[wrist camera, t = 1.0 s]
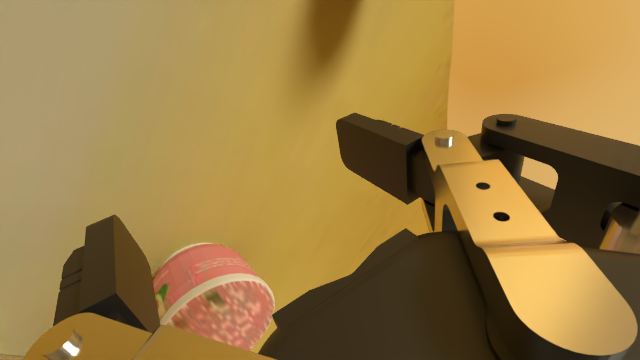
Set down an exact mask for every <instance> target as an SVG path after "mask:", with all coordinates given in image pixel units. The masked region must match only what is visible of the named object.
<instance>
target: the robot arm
mask: <svg viewBox="0 0 640 360" xmlns="http://www.w3.org/2000/svg"><path fill="white" fill-rule="evenodd" d="M336 129H337V135H338V141H339V148H340V154H341V158H342V161H343V163H344V164H345V166H346V167H347V168H348V169H349V170H351V171H352V172H354V173H356V174H357V175H359V176H361V177H362V178H364V179H366V180H367V181H369V182H371V183H372V184H374V185H376V186H377V187H379V188H381V189H382V190H384V191H386V192H387V193H389V194H391V195H392V196H394V197H396V198H397V199H399V200H401V201H402V202H404V203H406V204H407V205H408V204H409V203H411V202H413V201H414V200H416V199H418V198H419V197H420V198H422V209H423V212H424V216H425V219H426V222H427V226H428V229H429V233H426V234H422V235H419V236H416V235H415V234H413V233H412V232H410V231H409V230H407V229H406V228H405V229H404V230H402V231H401V232H399V233H398V234H396V235H395V236H393V237H391V238H390V239H388V240H387V241H385V242H384V243H382V244H381V245H379V246H378V247H377V248H376V249H375V250H374V251H373V252H372V253H371V254H370V255H369V256H368V257H367V258H366V260H365V261H364V262H363V263H362V264H361V265H360V266H359V267H358V268H357V269H356V270H355V272H353V273H352V274H351V275H349V276H346V277H344V278H341V279H338V280H336V281H333V282H331V283H328V284H325V285H323V286H320V287H317V288H315V289H312V290H309V291H308V292H306V293H305V294H303V295H302V296H300V297H299V298H297V299H296V300H294V301H292V302H291V303H289V304H288V305H286V306H285V307H283V308H282V309H280V310H279V311H277V312H275V313H274V314H272V317H273V319H274V322H275V324H276V326H277V329H276V330H275V331H274V332H273V333H272V334H271V335H270V337H269V338H268V339H267V341H266V342H265V343H264V345H263V346H262V348H261V349H260V351H259V353H258V354H257V353H254V352H251V351H248V350H244V349H241V348H238V347H235V346H232V345H229V344H226V343H222V342H219V341H216V340H213V339H210V338H207V337H203V336H200V335H197V334H194V333H191V332H188V331H185V330H181V329H178V328H175V327H172V326H168V325H160V319H159V314H158V308H157V303H156V297H155V292H154V286H153V281H152V275H151V270H150V266H149V263H148V261H147V259H146V257H145V255H144V253H143V252H142V250H141V249H140V247H139V246H138V244H137V243H136V241H135V240H134V239H133V237H132V236H131V234H130V233H129V231H128V230H127V228H126V227H125V226H124V224H123V223H122V221H121V220H120V219H119V217H118V216H116V215H112V216H110V217H108V218H105V219H103V220H101V221H98V222H96V223H94V224H91V225H89V226H87V227H86V235H85V246H83V247H80V248H78V249H76V250H74V251H73V253H72V254H71V255H70V257H69V258H68V260H67V261H66V263H65V264H64V266H63V272H62V281H61V283H60V292H59V295H58V301H57V306H56V312H55V318H54V324H53V327H52V328H51V329H49V330H48V331H47V332H46V333H44V334H43V335H42V336H41V337H40V338H39V339H38V340H37V341H36V342H35V343H34V344H33V346H32V347H31V348H30V349H29V351H28V352H27V354H26V355H25V357H24V359H23V360H640V146H638V145H634V144H630V143H626V142H622V141H618V140H614V139H610V138H606V137H602V136H598V135H594V134H590V133H586V132H582V131H578V130H575V129H571V128H566V127H563V126H559V125H555V124H551V123H547V122H542V121H539V120H535V119H531V118H527V117H523V116H519V115H513V114H499V115H493V116H489V117H487V118H485V119H484V120H483V123H482V132H481V133H480V134H476V135H473V136H469V137H467V136H466V135H465V134H463V133H461V132H458V131H454V130H437V131H433V132H430V133H427V134H426V135H422V134H419V133H417V132H414V131H411V130H408V129H405V128H400V127H399V126H397V125H392V124H391V123H388V122H385V121H382V120H374V119H371V118H368V117H366V116H363V115H360V114H357V113H353V114H350V115H348V116H346V117H343V118H341V119H339V120H337V123H336ZM524 156H525V157H528V158H531V159H534V160H537V161H539V162H542V163H545V164H548V165H550V166H552V167H553V168H554V169H555V170H556V172H557V174H558V182H557V185H556V189H555V190H554V189H551V188H549V187H546V186H544V185H541V184H539V183H536V182H534V181H531V180H529V179H527V178H524V177H521V171H522V166H523V161H524ZM559 237H560V238H562V239H564V240H566V241H564V240H562V239H560V238H559Z"/></svg>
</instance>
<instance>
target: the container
mask: <svg viewBox="0 0 640 360" xmlns="http://www.w3.org/2000/svg"><path fill="white" fill-rule="evenodd" d="M153 286H154V292H155V297H156V303H157V308H158V314H159V319H160V325H168V326H172V327H175V328H178V329H181V330H185V331H188V332H191V333H194V334H197V335H200V336H203V337H207V338H210V339H213V340H216V341H219V342H222V343H226V344H229V345H232V346H235V347H238V348H241V349H244V350H248V351H249V350H250V349H251V348H252V347H253V346H254V345H255V344H256V343H257V342H258V341H259V340H260V338H261V337H262V336H263V334H264V333H265V331H266V330H267V328H268V326H269V324H270V322H271V319H272V314H273V313H274V308H275V302H274V296H273V293H272V291H271V290H270V288H269V287H268V285H267V284H266V283H265V282H264V281H263V280H262V279H260V278H259V277H258V276H257V275H256V273H255V272H254V271H253V270H252V268H251V267H250V266H249V265H248V263H247V262H246V261H245V260H244V258H243V257H242V256H241V255H240V254H239V253H238V252H236V251H235V250H233V249H230V248H228V247H225V246H223V245H218V244H212V243H198V244H193V245H190V246H187V247H184V248H182V249H180V250H178V251H177V252H175V253H174V254H173V255H171V256H170V257H169V258H168V259H167V260H166V261H165V262H164V263H163V264H162V266H161V267H160V269H159V271H158V272H157V273H156V275H155V277H154V279H153Z"/></svg>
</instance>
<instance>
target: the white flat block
mask: <svg viewBox="0 0 640 360" xmlns="http://www.w3.org/2000/svg"><path fill="white" fill-rule="evenodd" d="M23 359H24V357H20V356H7V355H0V360H23Z"/></svg>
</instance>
